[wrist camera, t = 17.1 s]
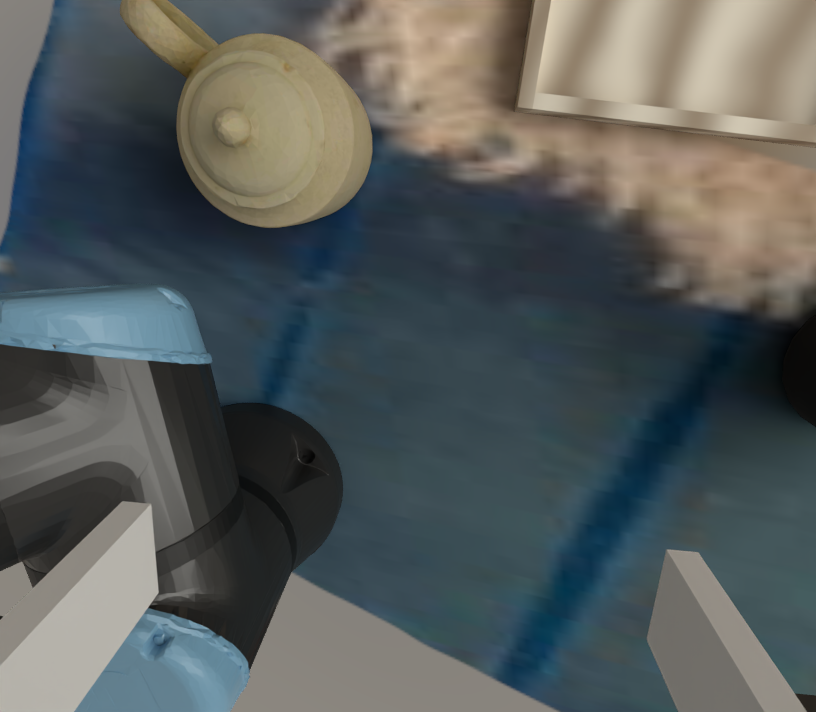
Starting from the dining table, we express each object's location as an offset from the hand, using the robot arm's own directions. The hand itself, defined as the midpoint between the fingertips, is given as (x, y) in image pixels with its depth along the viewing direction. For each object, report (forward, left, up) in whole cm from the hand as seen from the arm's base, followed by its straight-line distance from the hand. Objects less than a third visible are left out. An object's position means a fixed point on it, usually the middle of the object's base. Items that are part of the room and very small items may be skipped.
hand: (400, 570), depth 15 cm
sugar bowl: (-14, +11, -32) cm, 37 cm away
